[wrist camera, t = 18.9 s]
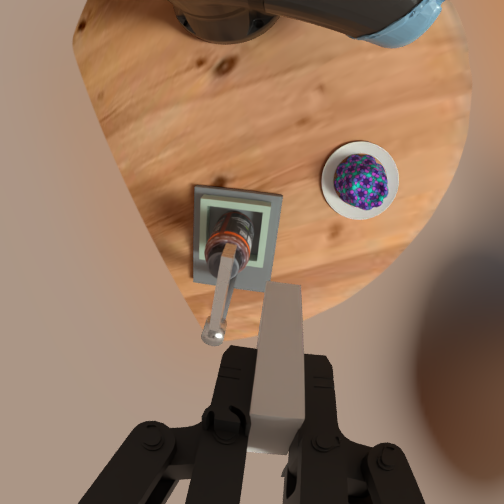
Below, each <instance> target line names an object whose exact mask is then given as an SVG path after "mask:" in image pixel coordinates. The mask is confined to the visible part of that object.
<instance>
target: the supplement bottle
mask: <svg viewBox="0 0 504 504" xmlns="http://www.w3.org/2000/svg"><path fill="white" fill-rule="evenodd" d="M253 237H254V226H253V223H252V221H251V220H250V219H249V217H247V216H246V215H244V214H242V213H240V212H229V213H226V214H224V215H223V216H221V217H220V218H219V220H218V221H217V223H216V225H215V227H214V229H213V231H212V233H211V235H210V237H209V239H208V242H207V244H206V246H205V250H204V255H205V260H206V262H207V268H208V271H209V273H210V274H211V275H212V276H213V277H215V278H217V277H218V272H219V266H220V260H221V255H222V253H223V250H224V248H225V245H226V243H230V244H234V245H237V248H236V253H235V257H234V262H233V267H232V272H231V277H230V279H232V278H234V277H235V276H236V275H237V273H239V272H241V271H242V270H243V269H244V268H245V267H246V265H247V264H248V261H249V257H250V252H251V247H252V242H253Z"/></svg>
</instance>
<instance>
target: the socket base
mask: <svg viewBox="0 0 504 504" xmlns="http://www.w3.org/2000/svg"><path fill="white" fill-rule="evenodd" d="M282 199H283V195H279V194H271V193H263V192H256V191H247V190H239V189H230V188H221V187H212V186H202V185H196V186H195V193H194V237H193V282H196V283H203V284H209V285H216V283H217V278H215V277H213V276H212V275H211V274H210V273H209V271H208V268H207V262H206V260H205V255H204V250H205V246H206V244H207V242H208V239H209V237H210V235H211V233H212V231H213V229H214V227H215V225H216V223H217V221H218V220H219V218H220V217H221V216H223V215H224V214H226V213H229V212H240V213H242V214H244V215H246V216H247V217H249V219H250V220H251V221H252V223H253V226H254V237H253V242H252V247H251V252H250V257H249V261H248V264H247V265H246V267H245V268H244V269H243V270H242V271H241V272H239V273H237V275H236V276H235V277H234V278H232V279H230V282H229V287H228V292H227V297H226V302H225V307H224V312H223V318H224V319H226V315H227V311H228V308H229V304H230V300H231V296H232V292H233V289H234V288H236V289H243V290H250V291H257V292H265V287H266V281H270V279H271V272H272V266H273V259H274V253H275V246H276V240H277V233H278V226H279V219H280V213H281V206H282Z"/></svg>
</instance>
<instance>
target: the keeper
mask: <svg viewBox="0 0 504 504" xmlns="http://www.w3.org/2000/svg"><path fill="white" fill-rule="evenodd" d="M236 248H237V245H234V244H230V243H226V245H225V248H224V250H223V253H222V255H221V260H220V266H219V272H218V277H217V283H216V289H215V295H214V301H213V306H212V312H211V316H209V317H208V318H207V320H206V323H205V326H204V329H203V332H202V335H201V338H202V340H203V341H204V343H206V344H208V345H211V346H219V345H220V344H222V342H223V339H224V335H225V331H226V327H227V322H226V320H225V319H224V318H223V312H224V307H225V302H226V297H227V292H228V287H229V282H230V277H231V272H232V267H233V262H234V257H235V253H236Z"/></svg>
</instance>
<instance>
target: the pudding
mask: <svg viewBox="0 0 504 504" xmlns="http://www.w3.org/2000/svg"><path fill="white" fill-rule="evenodd" d="M356 153H365V154H369V155H365V156H363V157H360V156H359V155H352V154H356ZM350 155H351V156H350ZM370 155H372V156H374V157H375V158H377V159H378V160H379V161H380V162H381V163H382V164H383V166H384V168H385V170H386V173H387V177H386V174H385V170H384V168H383V166H382V165H381V164H377V163H376V161H375V158H373V157H372V156H370ZM348 156H350V157H348ZM346 157H348V159H347V161H346V163H341V164H340V162H341V161H342V160H343V159H345V158H346ZM339 164H340V165H339ZM338 165H339V166H338ZM337 166H338V167H337ZM336 168H337V170H336ZM335 170H336V173H337V176H338V177H337V178H336V179H335V181H334V182H333V180H334V174H335ZM321 182H322V190H323V194H324V196H325V198H326V201H327V202H328V204H329V205H330V206H331V207H332V208H333V209H334V210H335V211H336V212H337V213H339V214H340V215H342V216H344V217H347V218H350V219H357V220H362V219H369V218H372V217H375V216H377V215H379V214H380V213H382V212H383V211H384V210H386V209H387V208H388V207H389V205H390V204H391V203H392V202H393V200H394V198H395V196H396V193H397V190H398V185H399V175H398V169H397V167H396V164H395V162H394V160H393V159H392V157H391V156H390V155H389V153H388V152H387V151H385V150H384V149H383V148H381V147H380V146H378V145H376V144H373V143H370V142H363V141H361V142H352V143H348V144H346V145H344V146H342V147H340V148H339V149H337V150H336V151H335V152H334V153H333V154H332V155H331V156H330V158H329V159H328V160H327V162H326V164H325V166H324V169H323V173H322V181H321ZM334 186H335V188H334ZM335 189H336V190H337V191H339V192H340V198H341V199H342V200H343V201H344V202H346V203H348V204H350V205H352V206H355V207H352V206H350V205H347V204H346V203H344V202H343V201H342V200H341V199H340V198H339V197H338V195H337V193H336V191H335Z"/></svg>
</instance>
